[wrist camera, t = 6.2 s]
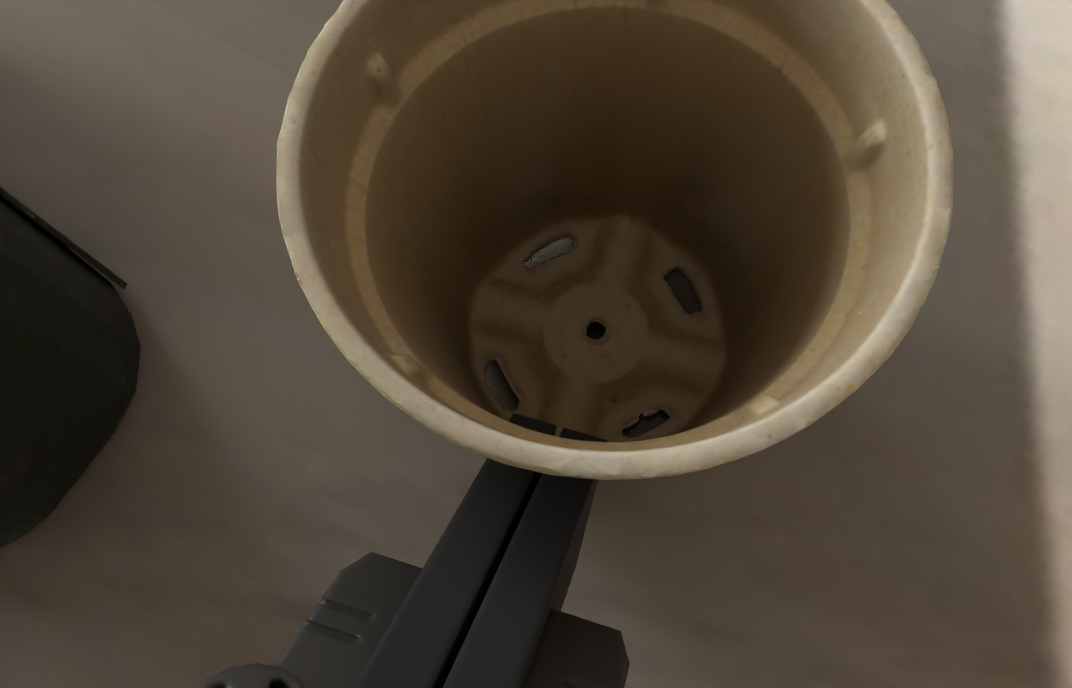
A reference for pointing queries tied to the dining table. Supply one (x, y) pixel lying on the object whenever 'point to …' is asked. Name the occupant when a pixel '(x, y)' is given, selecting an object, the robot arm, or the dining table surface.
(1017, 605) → the dining table surface
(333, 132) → the flower pot
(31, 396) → the sushi
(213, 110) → the dining table surface
